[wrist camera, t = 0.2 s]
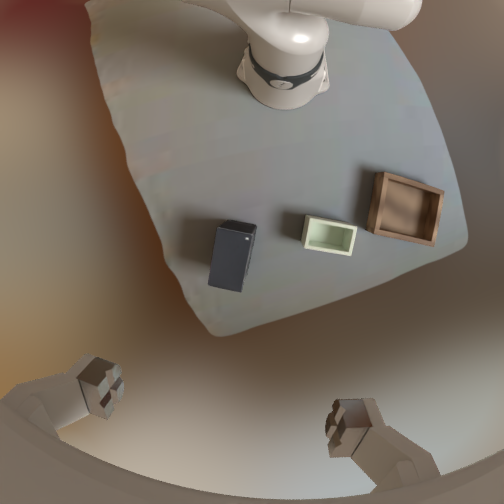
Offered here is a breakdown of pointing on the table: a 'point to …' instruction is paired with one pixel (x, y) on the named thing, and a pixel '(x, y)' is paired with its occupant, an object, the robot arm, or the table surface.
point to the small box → (231, 255)
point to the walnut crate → (404, 209)
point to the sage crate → (328, 235)
